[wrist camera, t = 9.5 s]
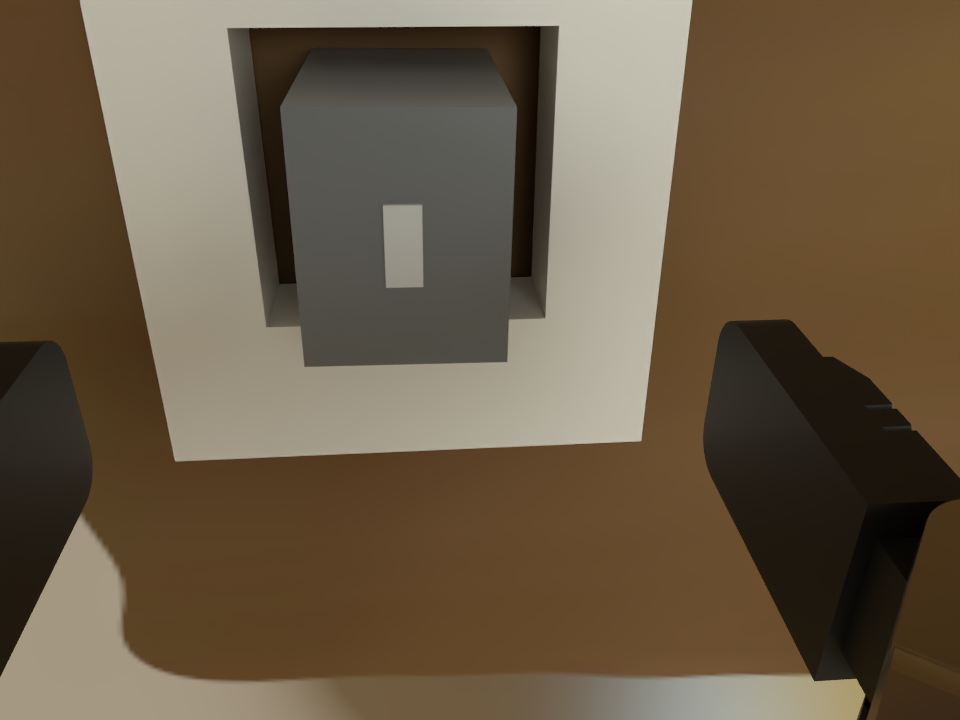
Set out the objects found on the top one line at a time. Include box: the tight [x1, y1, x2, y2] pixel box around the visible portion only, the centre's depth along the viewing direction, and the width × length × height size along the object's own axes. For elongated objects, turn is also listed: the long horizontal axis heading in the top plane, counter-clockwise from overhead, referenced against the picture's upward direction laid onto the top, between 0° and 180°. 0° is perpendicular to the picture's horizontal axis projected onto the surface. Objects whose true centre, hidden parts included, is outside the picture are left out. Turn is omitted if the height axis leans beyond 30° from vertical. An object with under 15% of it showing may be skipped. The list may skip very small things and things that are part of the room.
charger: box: [280, 48, 517, 367], centre depth 18 cm, size 5×4×6 cm
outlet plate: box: [80, 0, 692, 461], centre depth 20 cm, size 14×12×3 cm
